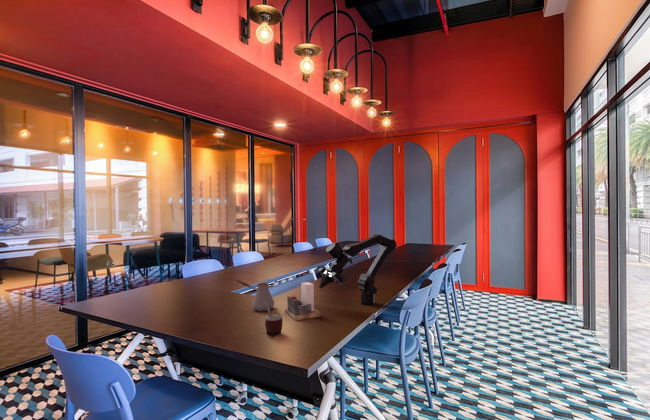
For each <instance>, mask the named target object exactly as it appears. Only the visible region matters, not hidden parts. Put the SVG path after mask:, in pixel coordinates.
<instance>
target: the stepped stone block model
mask: <svg viewBox="0 0 650 420" xmlns="http://www.w3.org/2000/svg"><path fill="white" fill-rule="evenodd" d="M286 301H287V309H284V313H285V314H286V315H288V316H289V317H290V318H291V319H292V320H293V321H299V320H306V319H314V318H318V317H322V312H320V311H318V310H317V309H316V308H314V311H311V304H307V305H302V304H301V300H300V299H298V298H297V295H288V296H287V300H286Z"/></svg>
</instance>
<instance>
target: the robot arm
mask: <svg viewBox="0 0 650 420" xmlns="http://www.w3.org/2000/svg"><path fill="white" fill-rule="evenodd" d="M376 244H378V245H379V252H378V253H377V255H376V257H375V258H374V259H373V261H372V263H371V266H370V267H369V269H368V270H367V271H366V273H361V274H360V276H359V277H358V279H357V286H358V288H359V289H360V291H361V295H360V303H361V305H365V306H366V305H367V306H374V305H375V304H376V298H375V296H376V294H377V292H378V289H377V288H376V287H375V279H376V276H377V275H378V272H379V271H380V269H381V267H382V266H383V264H384V262H385V261H386V259H387V257H388V256H389V255H390V254H392V253H393V252H394V251H395V249H397V247H398V246H397V241H396V240H395V239H390V238H388V237H385V236H383V235H382V234H376V233H375V234H374V235H372V236H369V237H368V238H366V239H363V240H361V241H359V242H356V243H349V244H346V245H344V247H343V246H342V247H341V246H340V245H339V243H337V242H336V241H334V242H333V243H330V245H328V246H327V247H326V249H325V251H326V252H327V254H328V255H329V256H330V257H331V258H332V259H335V260H334V261H331V263H330V264H331V265H330V267H327V268H325V267H319V268H318V270H317V272H319V273H320V274H321V279H320V281H319V286H318V287H319V289H321V290H322V289H323V288H324V287H326V286H327V285H329V284H330V283H336V284H337V285H340V286H342V285H344V284H346V282H347V281H346V279H345V275H344V274H343V273H344V268H345V267H346V266H347V265H348V264H350V265H351V264H352V265H353V260H352V259H353V257H356V256H358V255H359V254H360V253H361V252H362V251H363V250H366V249H367V248H370V247H372V246H373V245H376ZM350 257H352V258H350Z"/></svg>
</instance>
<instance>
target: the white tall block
mask: <svg viewBox="0 0 650 420" xmlns="http://www.w3.org/2000/svg"><path fill="white" fill-rule="evenodd" d="M300 285H301V287H300V289H301V290H300V291H301V292H300V293H301V295H300V296H301V300H300V301H301V304H302V305H307V304H311V311H314V309H315V304H314V302H315V299H314V297H315V296H314V294H315V293H314V292H315V291H314V286H315V285H314V283H312V282H308V281H306V282H301V283H300Z"/></svg>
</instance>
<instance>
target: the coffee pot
mask: <svg viewBox="0 0 650 420" xmlns="http://www.w3.org/2000/svg"><path fill="white" fill-rule="evenodd" d="M236 283H239V284H241V285H243V286H246V287H248V288H251V289H253V290H255V291H256V293H255V295H254V297H253V300H252V303H251V306H252V308H253V309H254V310H255V311H258V312H265V311H268V308H267V306H266V304H265V303H264V302H266V303H267V304H268V306H269V310H271V309H272V308H273V307H274V305H275V301H274V298H273V296H272V295H271V292H270V290H269V286H270V283H268V282H261V283H260V282H259V283H256V286H257V288H256V287H253V286H251V285H250V284H248V283H247V282H243V281H241V280H238V279H235V281H234V284H236ZM263 301H264V302H263Z"/></svg>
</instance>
